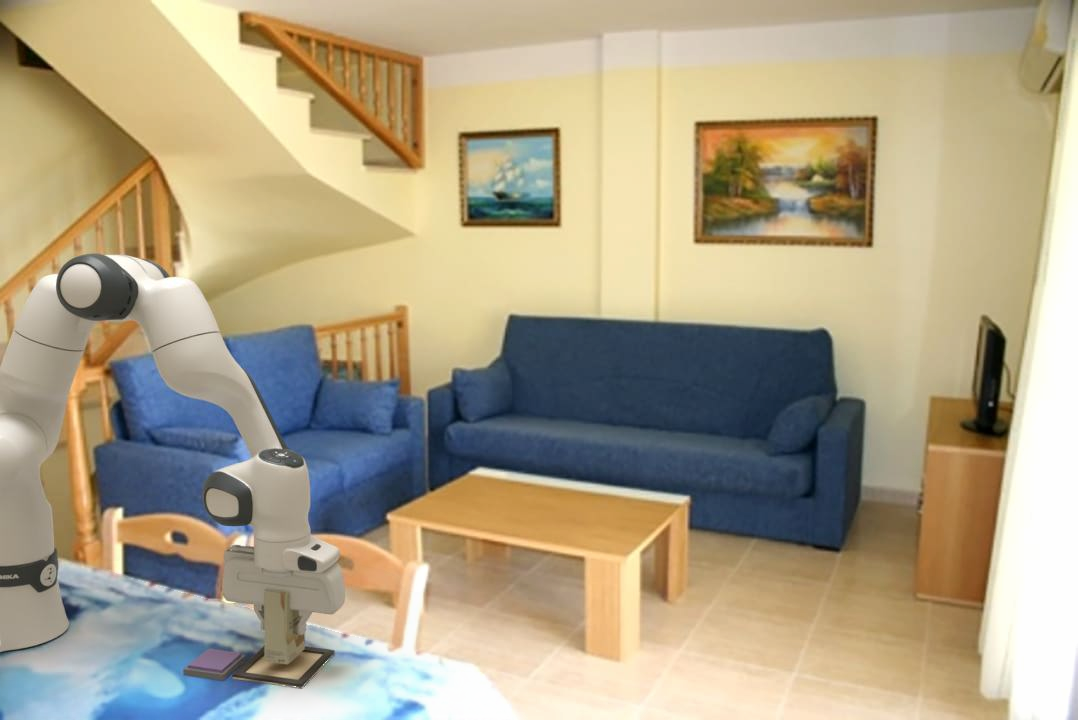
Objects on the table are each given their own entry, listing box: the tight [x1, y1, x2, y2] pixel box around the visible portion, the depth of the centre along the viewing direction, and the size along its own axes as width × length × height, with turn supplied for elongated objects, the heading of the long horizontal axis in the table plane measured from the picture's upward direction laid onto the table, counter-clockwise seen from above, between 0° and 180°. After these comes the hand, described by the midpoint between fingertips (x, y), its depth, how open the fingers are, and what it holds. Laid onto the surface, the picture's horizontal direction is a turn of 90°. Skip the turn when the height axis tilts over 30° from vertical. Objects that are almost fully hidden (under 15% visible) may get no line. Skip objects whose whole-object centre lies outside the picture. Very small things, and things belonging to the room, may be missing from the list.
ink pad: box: [182, 648, 247, 682], centre depth 153 cm, size 7×7×2 cm
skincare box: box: [263, 589, 306, 664], centre depth 153 cm, size 6×4×12 cm
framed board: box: [231, 645, 335, 688], centre depth 154 cm, size 12×12×1 cm
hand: (283, 631), depth 153 cm, fingers closed on skincare box, 4 cm apart
